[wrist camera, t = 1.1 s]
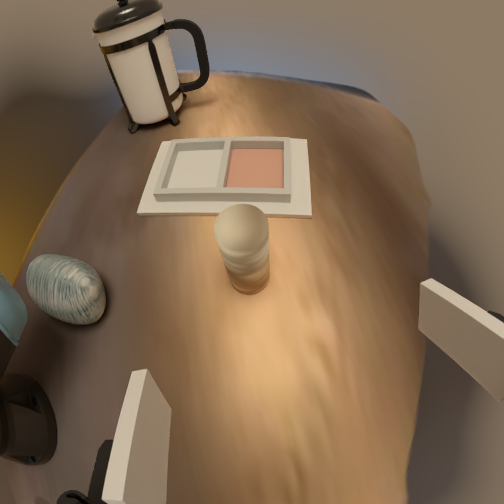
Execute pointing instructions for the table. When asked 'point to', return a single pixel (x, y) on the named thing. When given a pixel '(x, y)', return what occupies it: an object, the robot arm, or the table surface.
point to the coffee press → (146, 59)
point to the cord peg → (244, 246)
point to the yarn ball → (66, 288)
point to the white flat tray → (229, 177)
